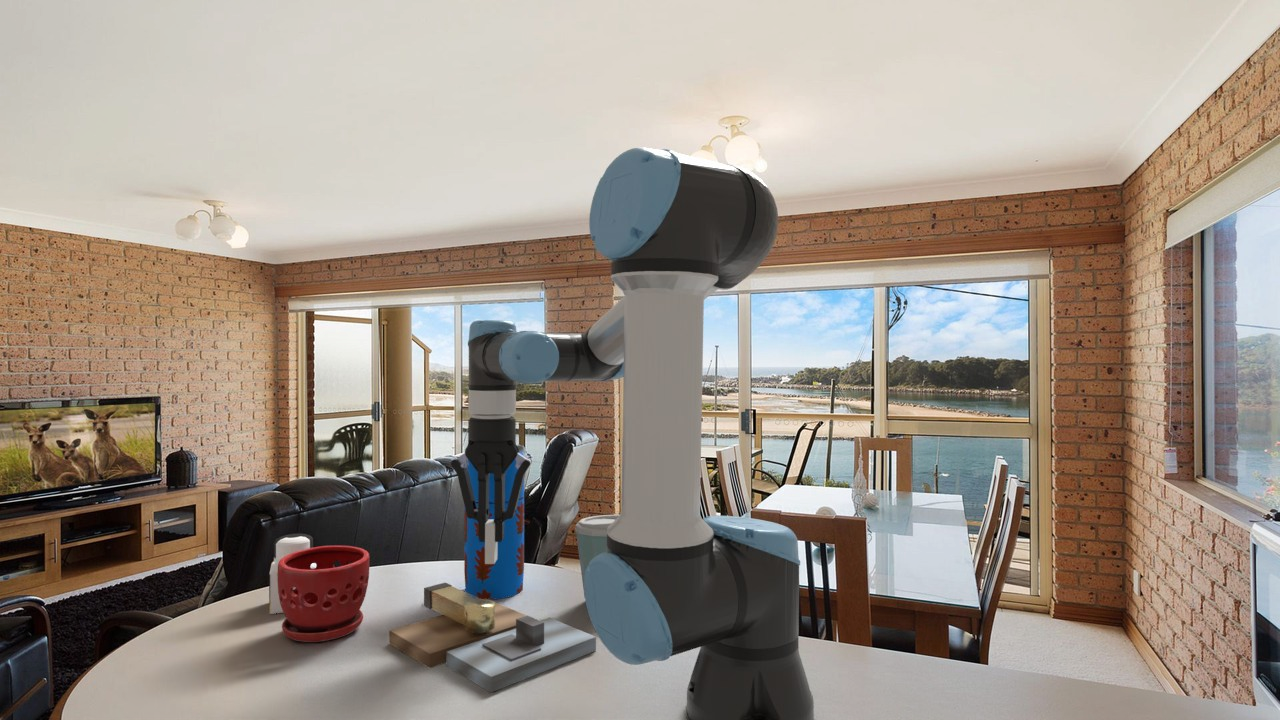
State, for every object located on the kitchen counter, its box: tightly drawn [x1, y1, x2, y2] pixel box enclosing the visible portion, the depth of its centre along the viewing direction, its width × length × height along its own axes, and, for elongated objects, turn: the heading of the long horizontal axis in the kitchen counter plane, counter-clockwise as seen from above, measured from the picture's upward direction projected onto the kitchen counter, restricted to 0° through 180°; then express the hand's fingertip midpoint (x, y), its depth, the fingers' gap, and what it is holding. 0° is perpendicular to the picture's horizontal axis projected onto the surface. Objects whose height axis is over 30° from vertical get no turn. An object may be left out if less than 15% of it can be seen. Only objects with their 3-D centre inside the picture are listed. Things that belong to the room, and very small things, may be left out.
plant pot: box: [277, 545, 370, 643], centre depth 109 cm, size 13×13×12 cm
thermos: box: [463, 451, 525, 600], centre depth 129 cm, size 11×11×25 cm
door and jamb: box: [388, 601, 597, 693], centre depth 103 cm, size 24×20×5 cm
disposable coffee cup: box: [574, 514, 620, 598], centre depth 122 cm, size 11×11×15 cm
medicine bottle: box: [268, 533, 317, 615], centre depth 121 cm, size 7×7×12 cm
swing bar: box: [423, 582, 496, 633], centre depth 107 cm, size 15×4×3 cm, turn 46°
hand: (491, 561), depth 113 cm, fingers closed
